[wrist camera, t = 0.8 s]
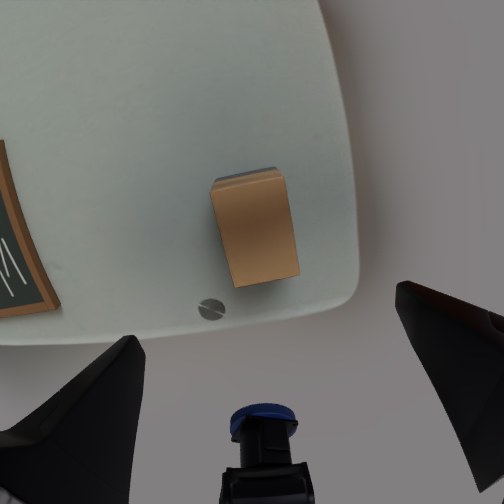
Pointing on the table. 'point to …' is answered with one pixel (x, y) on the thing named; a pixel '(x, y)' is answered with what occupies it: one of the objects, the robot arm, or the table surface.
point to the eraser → (255, 226)
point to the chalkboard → (19, 256)
